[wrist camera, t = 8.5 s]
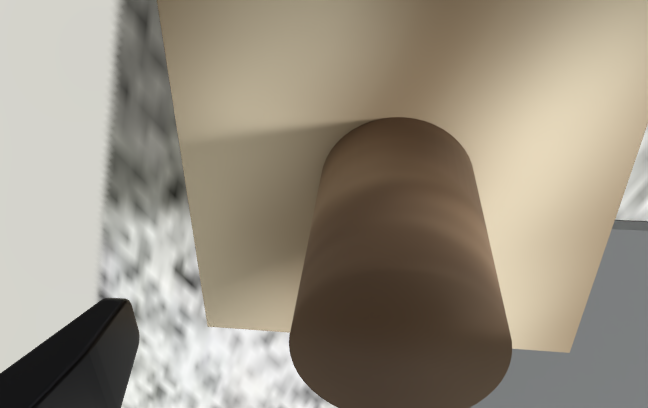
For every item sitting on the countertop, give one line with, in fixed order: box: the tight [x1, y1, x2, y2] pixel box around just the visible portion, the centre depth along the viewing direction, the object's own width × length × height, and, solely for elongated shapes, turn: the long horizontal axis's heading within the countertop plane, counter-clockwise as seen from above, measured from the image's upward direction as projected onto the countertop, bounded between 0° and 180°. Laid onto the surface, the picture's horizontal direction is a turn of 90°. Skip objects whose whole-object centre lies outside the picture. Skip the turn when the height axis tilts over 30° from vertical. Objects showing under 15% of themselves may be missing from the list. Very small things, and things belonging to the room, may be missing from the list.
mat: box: [470, 221, 648, 408], centre depth 27 cm, size 18×18×1 cm
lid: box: [157, 0, 648, 408], centre depth 12 cm, size 10×10×6 cm
